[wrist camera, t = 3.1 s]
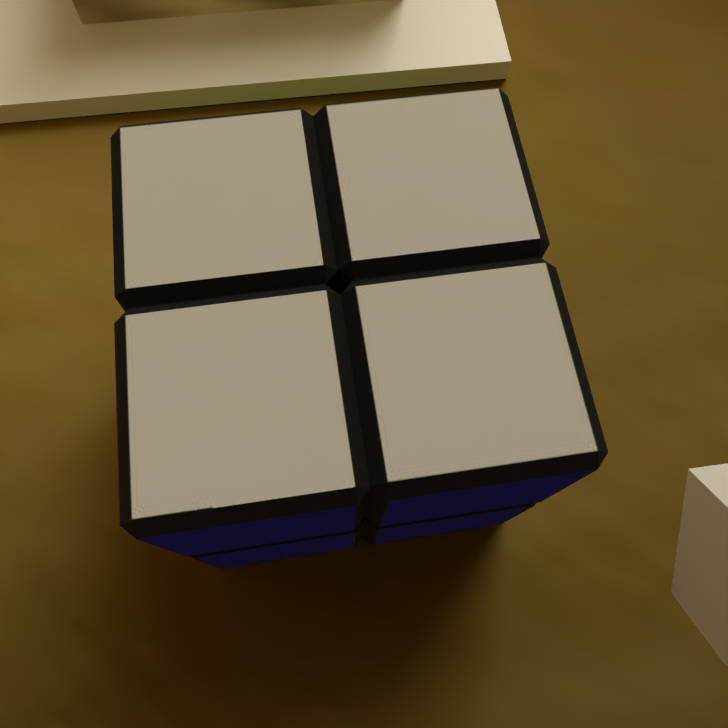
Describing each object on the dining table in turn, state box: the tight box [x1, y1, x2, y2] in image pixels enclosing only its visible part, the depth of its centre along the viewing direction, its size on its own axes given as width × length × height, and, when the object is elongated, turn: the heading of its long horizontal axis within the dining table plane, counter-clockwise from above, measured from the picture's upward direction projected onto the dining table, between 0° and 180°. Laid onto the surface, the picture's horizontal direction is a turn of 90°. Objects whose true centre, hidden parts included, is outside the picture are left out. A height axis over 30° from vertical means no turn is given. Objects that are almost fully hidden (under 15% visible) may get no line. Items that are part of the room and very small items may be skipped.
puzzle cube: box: [111, 88, 608, 568], centre depth 19 cm, size 10×10×10 cm
